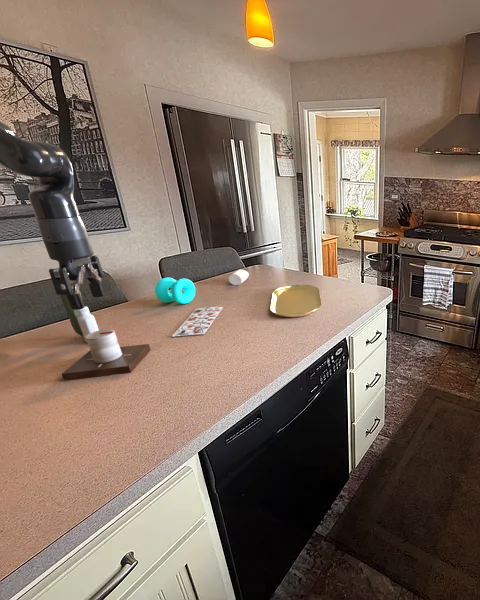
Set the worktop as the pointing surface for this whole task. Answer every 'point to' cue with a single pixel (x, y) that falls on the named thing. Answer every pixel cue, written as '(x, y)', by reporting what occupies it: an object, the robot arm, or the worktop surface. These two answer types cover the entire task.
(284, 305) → the serving platter
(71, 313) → the vegetable
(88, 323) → the eye dropper bottle
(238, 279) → the roll
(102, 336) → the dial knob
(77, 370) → the holder
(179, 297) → the donuts
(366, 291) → the worktop surface
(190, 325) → the paper towel
